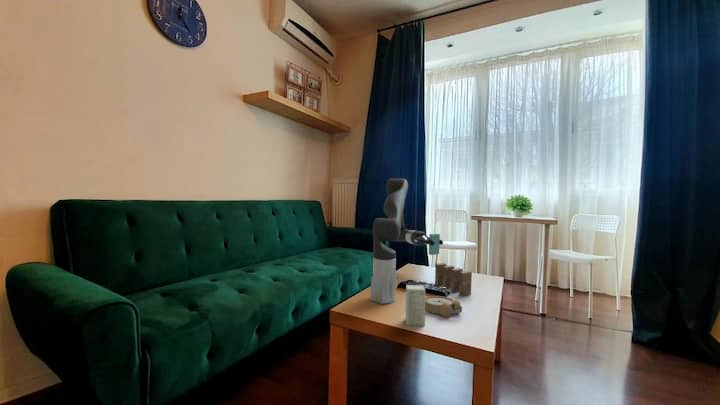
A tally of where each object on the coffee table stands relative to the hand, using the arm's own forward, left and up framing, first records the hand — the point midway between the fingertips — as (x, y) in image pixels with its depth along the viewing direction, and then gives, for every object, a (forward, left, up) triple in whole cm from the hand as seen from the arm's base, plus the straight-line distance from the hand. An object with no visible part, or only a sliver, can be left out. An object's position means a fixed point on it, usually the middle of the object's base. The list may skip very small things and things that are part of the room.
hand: (438, 242), depth 138 cm
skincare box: (-45, -15, -20) cm, 52 cm away
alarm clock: (-29, -17, -20) cm, 39 cm away
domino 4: (-6, -16, -20) cm, 26 cm away
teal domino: (+1, +2, -6) cm, 7 cm away
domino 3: (-4, -12, -20) cm, 23 cm away
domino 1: (-1, -2, -20) cm, 20 cm away
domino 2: (-3, -7, -20) cm, 21 cm away
